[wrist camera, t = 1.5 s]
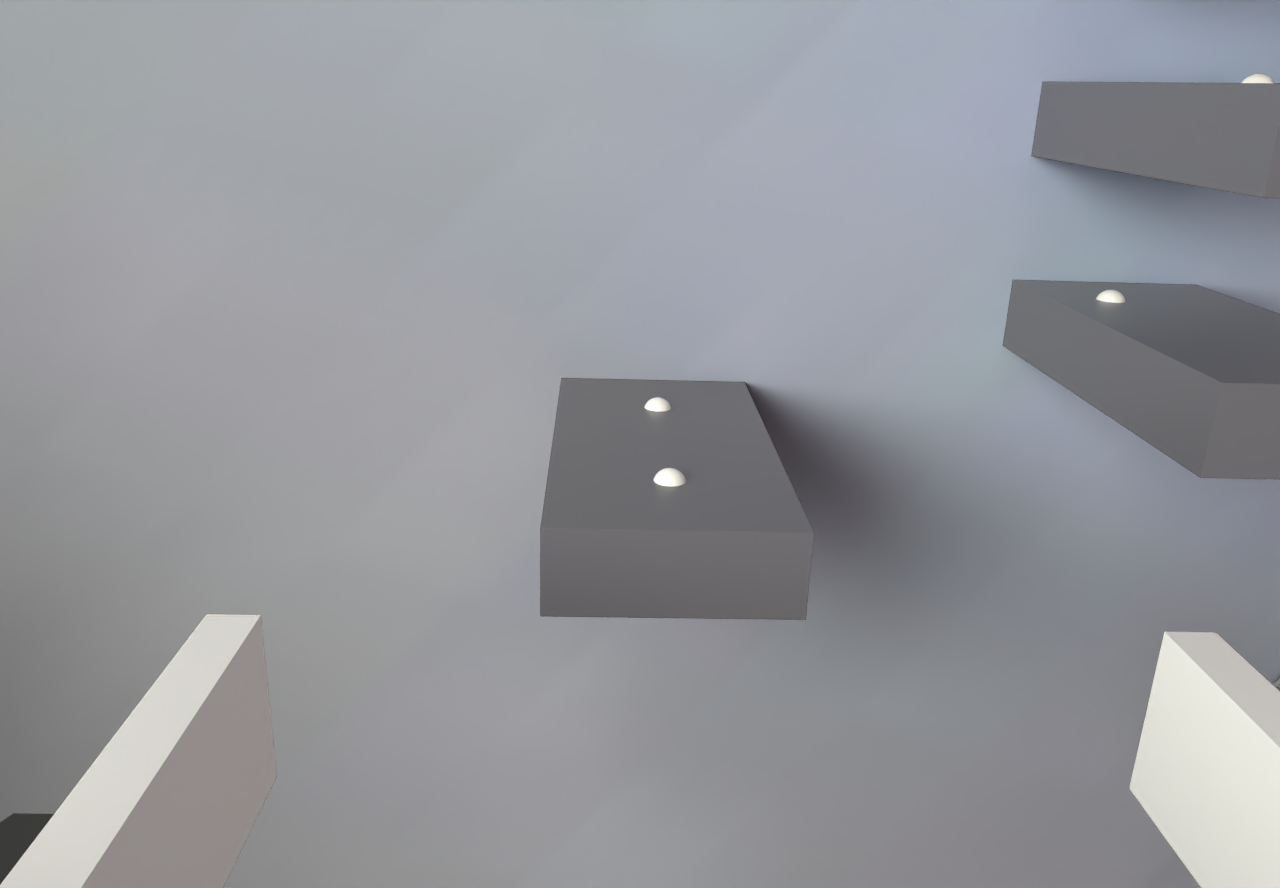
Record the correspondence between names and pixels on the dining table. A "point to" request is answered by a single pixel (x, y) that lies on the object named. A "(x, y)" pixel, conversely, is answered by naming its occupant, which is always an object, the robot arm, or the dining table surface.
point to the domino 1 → (669, 506)
